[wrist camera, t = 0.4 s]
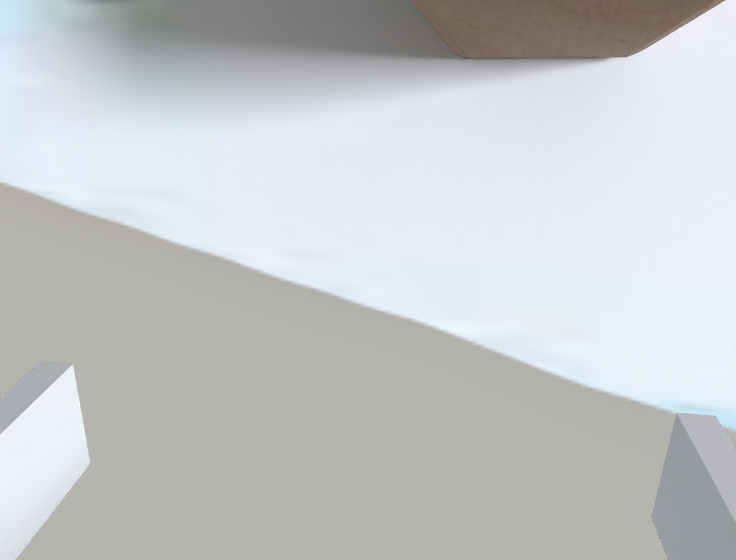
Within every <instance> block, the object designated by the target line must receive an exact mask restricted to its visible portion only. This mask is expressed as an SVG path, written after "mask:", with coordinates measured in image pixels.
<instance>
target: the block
mask: <svg viewBox="0 0 736 560" xmlns="http://www.w3.org/2000/svg"><path fill="white" fill-rule="evenodd" d="M723 1H725V0H412V2H413V3H414V4H415V5H416V7H417V8H418V9H419V10H420V12H421V13H422V14H423V15H424V16H425V18H426V19H427V20H428V21H429V23H430V24H431V25H432V26H433V28H434V29H435V30H436V31H437V32H438V34H439V35H440V36H441V37H442V39H443V40H444V41H445V42H446V44H447V45H448V46H449V47H450V49H451V50H452V51H453V52H454V53H456V54H458V55H461V56H463V57H465V58H587V57H628V56H631V55H633V54H635V53H638V52H640V51H642V50H644V49H646V48H647V47H649V46H651V45H652V44H654V43H656V42H657V41H659V40H661V39H662V38H664V37H666V36H667V35H669V34H670V33H672V32H674V31H675V30H677V29H679V28H680V27H682V26H684V25H685V24H687V23H689V22H690V21H692V20H694V19H695V18H697V17H698V16H700V15H702V14H703V13H705V12H707V11H708V10H710V9H712V8H713V7H715V6H717V5H718V4H720V3H721V2H723Z"/></svg>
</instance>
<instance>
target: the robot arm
mask: <svg viewBox="0 0 736 560" xmlns="http://www.w3.org/2000/svg"><path fill="white" fill-rule="evenodd" d="M89 464H90V459H89V453H88V448H87V442H86V437H85V431H84V425H83V419H82V414H81V408H80V402H79V396H78V391H77V385H76V379H75V373H74V368H73V364H66V363H53V362H40V363H38V364H37V365H36V366H35V367H34V368H33V369H32V370H31V371H29V372H28V373H27V374H26V375H25V376H24V377H23V378H22V379H20V380H19V381H18V382H17V383H16V384H15V385H14V386H13V387H12V388H10V389H9V390H8V391H7V392H6V393H5V394H4V395H3V396H1V397H0V560H16V558H17V557H18V556H19V555H20V553H21V552H22V551H23V549H24V548H25V547H26V546H27V544H28V543H29V542H30V540H31V539H32V538H33V536H34V535H35V534H36V532H37V531H38V530H39V529H40V527H41V526H42V525H43V524H44V522H45V521H46V520H47V518H48V517H49V516H50V514H51V513H52V512H53V511H54V509H55V508H56V507H57V505H58V504H59V503H60V502H61V500H62V499H63V498H64V496H65V495H66V494H67V493H68V491H69V490H70V489H71V487H72V486H73V485H74V484H75V482H76V481H77V480H78V478H79V477H80V476H81V474H82V473H83V472H84V471H85V469H86V468H87V467H88V465H89ZM652 519H653V522H654V525H655V527H656V530H657V532H658V535H659V538H660V540H661V543H662V545H663V548H664V551H665V553H666V556H667V559H668V560H736V448H735V447H734V445H733V444H732V442H731V440H730V439H729V437H728V435H727V434H726V432H725V431H724V429H723V427H722V426H721V424H720V423H719V421H718V419H717V418H716V416H710V415H698V414H686V413H676V417H675V422H674V426H673V430H672V434H671V438H670V443H669V447H668V451H667V455H666V459H665V463H664V468H663V471H662V476H661V480H660V484H659V488H658V492H657V497H656V501H655V505H654V509H653V513H652Z"/></svg>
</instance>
